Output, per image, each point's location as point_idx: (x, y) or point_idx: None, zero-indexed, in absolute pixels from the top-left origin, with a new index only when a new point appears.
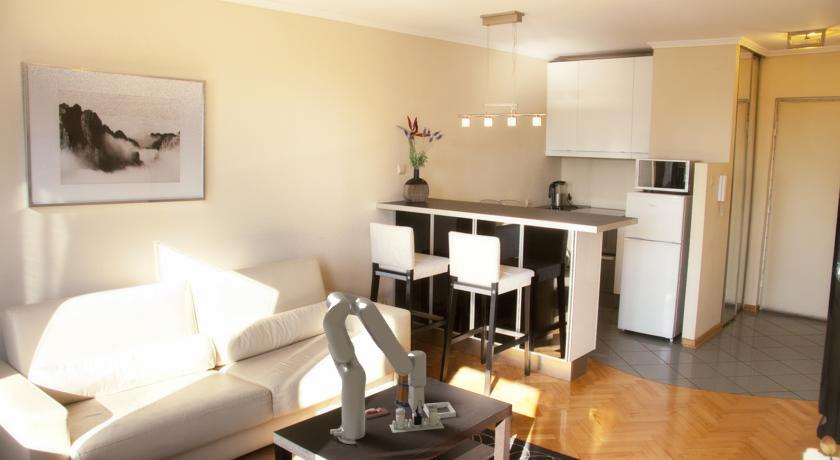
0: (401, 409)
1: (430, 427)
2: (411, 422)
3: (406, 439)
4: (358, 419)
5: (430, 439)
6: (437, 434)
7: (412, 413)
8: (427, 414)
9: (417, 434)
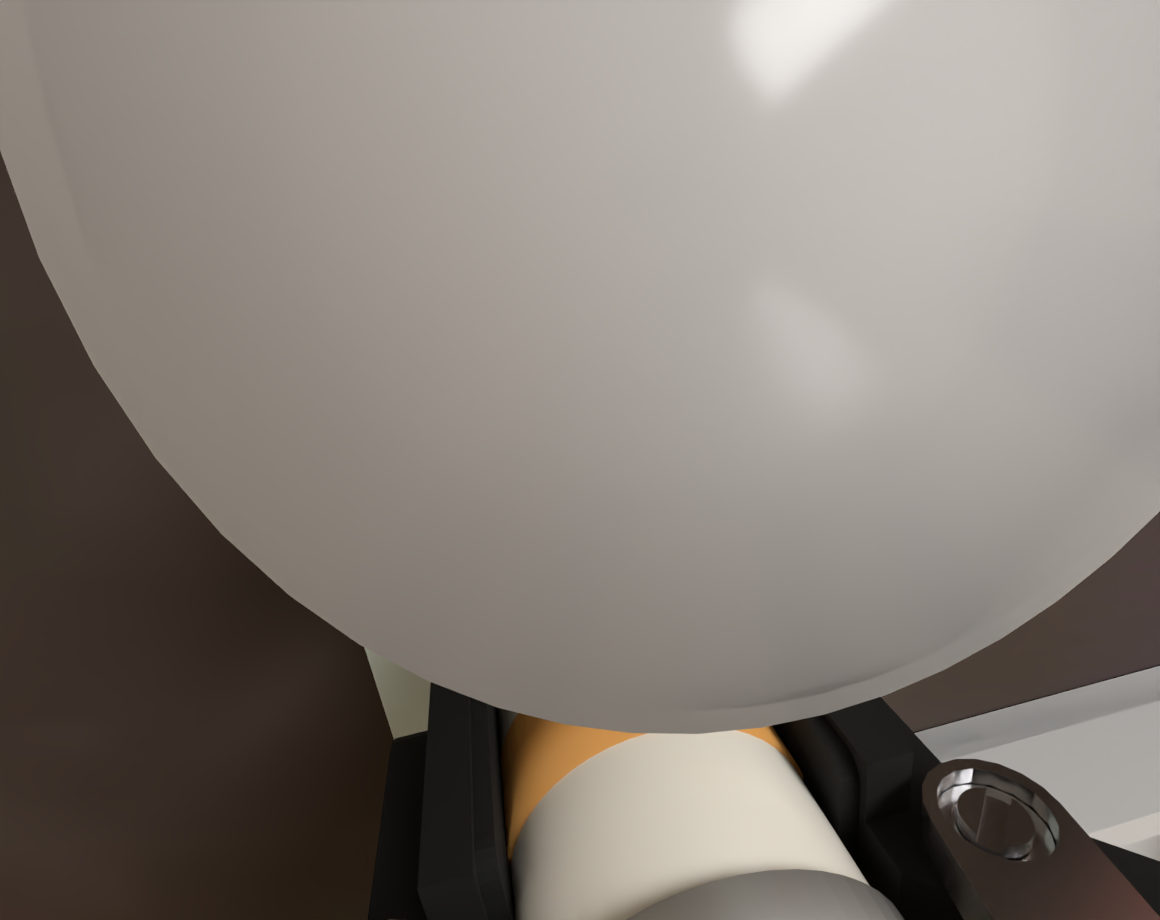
0: (807, 319)
1: None
2: None
3: (24, 360)
4: None
5: (123, 820)
6: (361, 895)
7: (698, 812)
8: None
9: None
